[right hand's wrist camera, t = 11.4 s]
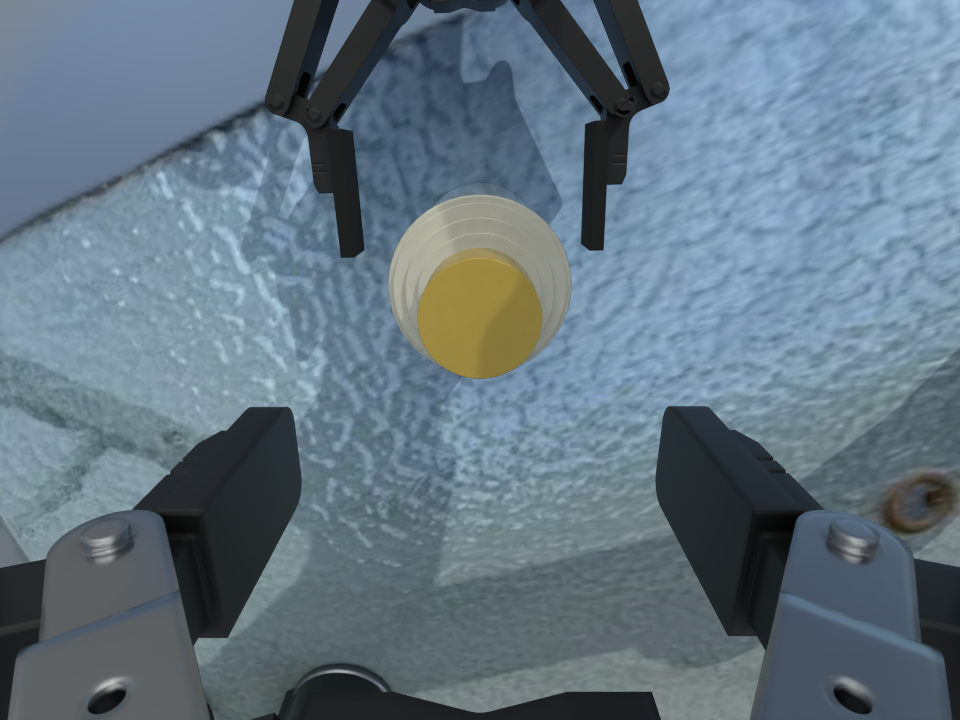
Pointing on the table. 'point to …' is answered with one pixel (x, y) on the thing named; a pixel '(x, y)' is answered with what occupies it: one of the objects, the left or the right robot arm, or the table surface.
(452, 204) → the bottle
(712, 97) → the table surface
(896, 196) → the table surface
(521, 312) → the cap
